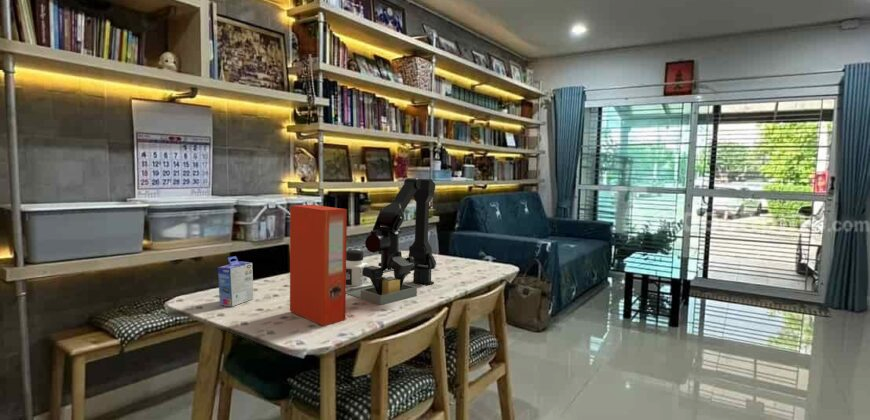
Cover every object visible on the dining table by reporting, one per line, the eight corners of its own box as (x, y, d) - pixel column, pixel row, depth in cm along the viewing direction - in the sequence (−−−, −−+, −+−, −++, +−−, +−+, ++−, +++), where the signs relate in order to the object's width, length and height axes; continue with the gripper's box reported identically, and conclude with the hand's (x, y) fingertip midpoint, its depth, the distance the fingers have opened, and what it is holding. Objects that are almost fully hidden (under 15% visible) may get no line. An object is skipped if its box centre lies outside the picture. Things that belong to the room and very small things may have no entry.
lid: (377, 285, 173) (377, 281, 173) (395, 291, 166) (395, 286, 166) (341, 293, 161) (341, 288, 161) (359, 299, 154) (359, 294, 154)
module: (389, 294, 160) (390, 275, 159) (399, 297, 156) (400, 278, 156) (378, 296, 156) (378, 278, 156) (388, 300, 153) (388, 280, 152)
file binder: (313, 306, 146) (313, 204, 143) (346, 319, 134) (346, 208, 131) (289, 311, 140) (289, 205, 137) (322, 326, 128) (322, 210, 126)
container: (360, 287, 170) (360, 252, 168) (340, 286, 171) (340, 251, 170) (367, 282, 177) (367, 248, 176) (348, 281, 179) (348, 247, 177)
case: (395, 291, 166) (395, 281, 166) (416, 297, 159) (416, 287, 158) (359, 299, 154) (359, 289, 154) (380, 306, 147) (380, 296, 147)
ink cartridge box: (240, 297, 155) (239, 253, 153) (254, 299, 153) (253, 255, 151) (217, 305, 145) (216, 259, 144) (232, 307, 143) (231, 260, 142)
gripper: (384, 255, 143) (383, 305, 144) (426, 248, 156) (425, 294, 158) (361, 249, 150) (361, 297, 152) (404, 243, 164) (403, 287, 165)
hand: (389, 294), depth 156 cm, fingers open, 8 cm apart
